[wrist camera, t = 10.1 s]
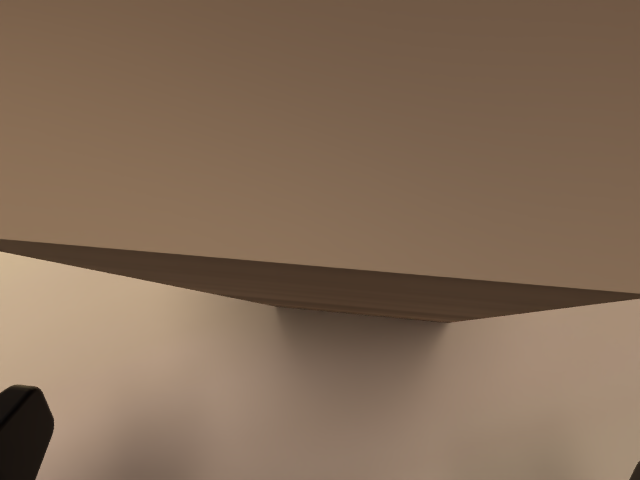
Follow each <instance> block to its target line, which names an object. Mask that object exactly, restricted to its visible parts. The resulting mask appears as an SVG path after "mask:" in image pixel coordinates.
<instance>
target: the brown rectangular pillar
mask: <svg viewBox="0 0 640 480" xmlns="http://www.w3.org/2000/svg"><path fill="white" fill-rule="evenodd" d="M0 251H1V252H6V253H11V254H16V255H21V256H26V257H31V258H36V259H41V260H46V261H51V262H56V263H61V264H66V265H71V266H76V267H81V268H86V269H91V270H96V271H101V272H106V273H111V274H116V275H121V276H126V277H131V278H136V279H141V280H146V281H151V282H156V283H161V284H166V285H171V286H176V287H181V288H186V289H191V290H196V291H201V292H206V293H211V294H216V295H221V296H226V297H231V298H236V299H241V300H246V301H251V302H256V303H261V304H266V305H271V306H277V307H288V308H299V309H309V310H320V311H330V312H341V313H351V314H362V315H372V316H383V317H393V318H404V319H414V320H425V321H435V322H446V323H450V322H458V321H465V320H473V319H481V318H489V317H497V316H505V315H513V314H521V313H529V312H537V311H545V310H553V309H561V308H569V307H577V306H585V305H592V304H600V303H608V302H616V301H624V300H632V299H640V0H0Z"/></svg>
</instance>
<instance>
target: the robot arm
mask: <svg viewBox="0 0 640 480" xmlns="http://www.w3.org/2000/svg"><path fill="white" fill-rule="evenodd" d="M53 430H54V418H53V416H52V413H51V411H50V409H49V406H48V404H47V401H46V399H45V397H44V394H43V392H42V391H41V389H39V388H38V387H35V386H26V385H13V386H10V387H8V388H7V389H5V390H4V391H2V392H1V393H0V480H35V479H36V476H37V474H38V471H39V469H40V466H41V463H42V461H43V458H44V455H45V453H46V450H47V447H48V445H49V442H50V439H51V437H52V434H53ZM629 480H640V461H639V462H638V464H637V465H636V467H635V469H634V471H633V473H632V475H631V477H630V479H629Z"/></svg>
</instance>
